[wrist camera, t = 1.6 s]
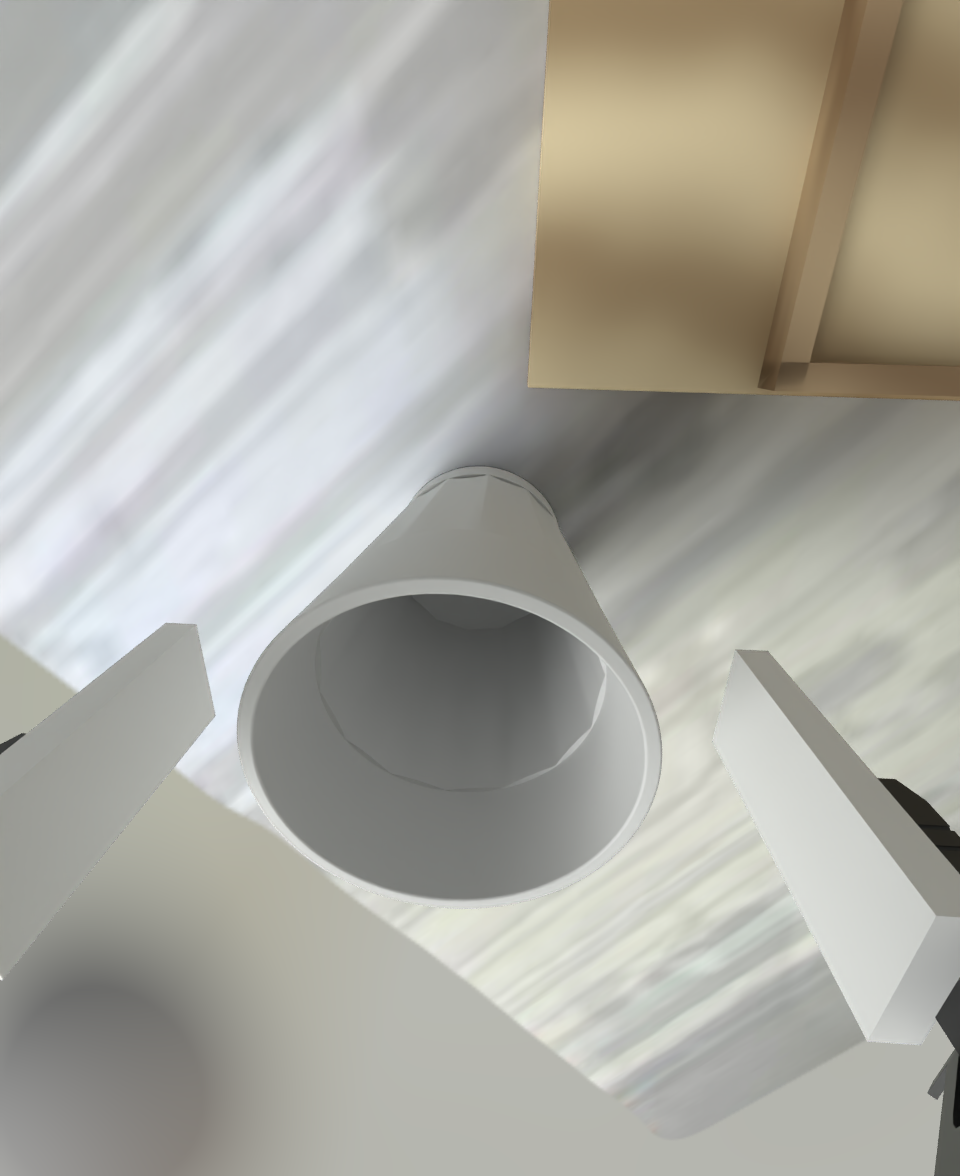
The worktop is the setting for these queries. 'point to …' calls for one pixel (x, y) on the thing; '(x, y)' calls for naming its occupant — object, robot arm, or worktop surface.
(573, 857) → the cup
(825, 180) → the board
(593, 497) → the worktop surface
